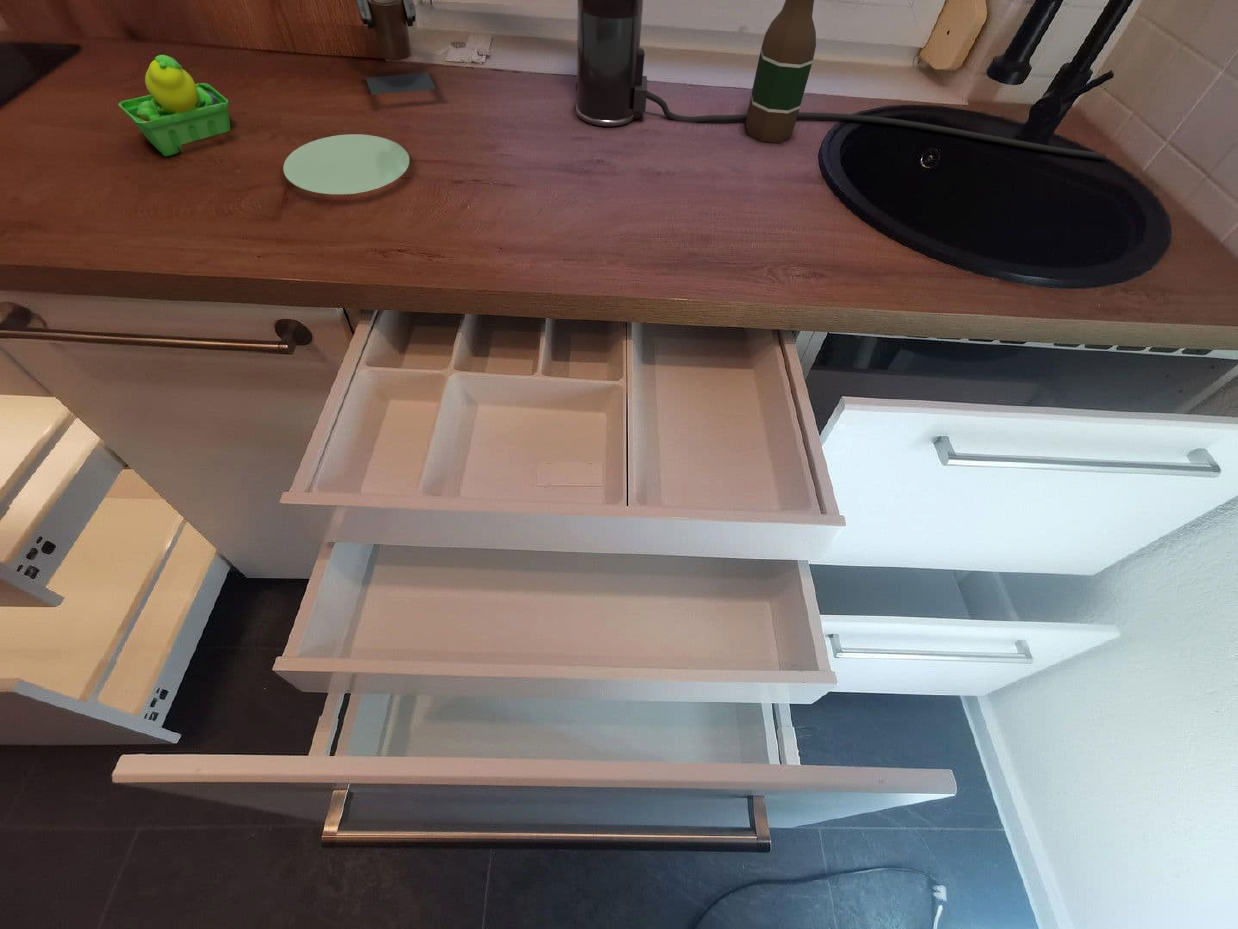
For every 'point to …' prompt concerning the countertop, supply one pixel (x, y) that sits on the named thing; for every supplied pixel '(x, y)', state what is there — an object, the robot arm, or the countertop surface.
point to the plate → (346, 164)
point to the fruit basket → (176, 108)
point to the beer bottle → (782, 73)
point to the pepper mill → (390, 29)
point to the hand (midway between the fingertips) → (390, 23)
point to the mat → (400, 83)
